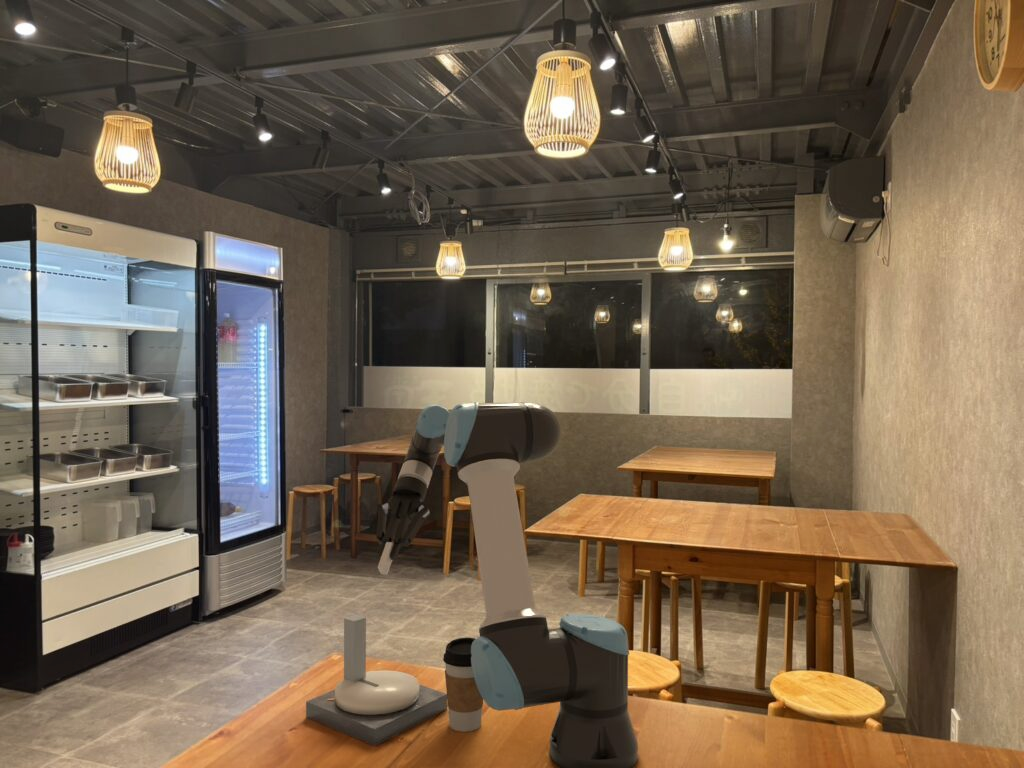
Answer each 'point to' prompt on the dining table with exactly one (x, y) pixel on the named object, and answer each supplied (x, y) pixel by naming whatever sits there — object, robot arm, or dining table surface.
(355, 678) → the dial
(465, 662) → the coffee cup
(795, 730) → the dining table surface
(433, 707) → the dial housing
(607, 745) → the robot arm
